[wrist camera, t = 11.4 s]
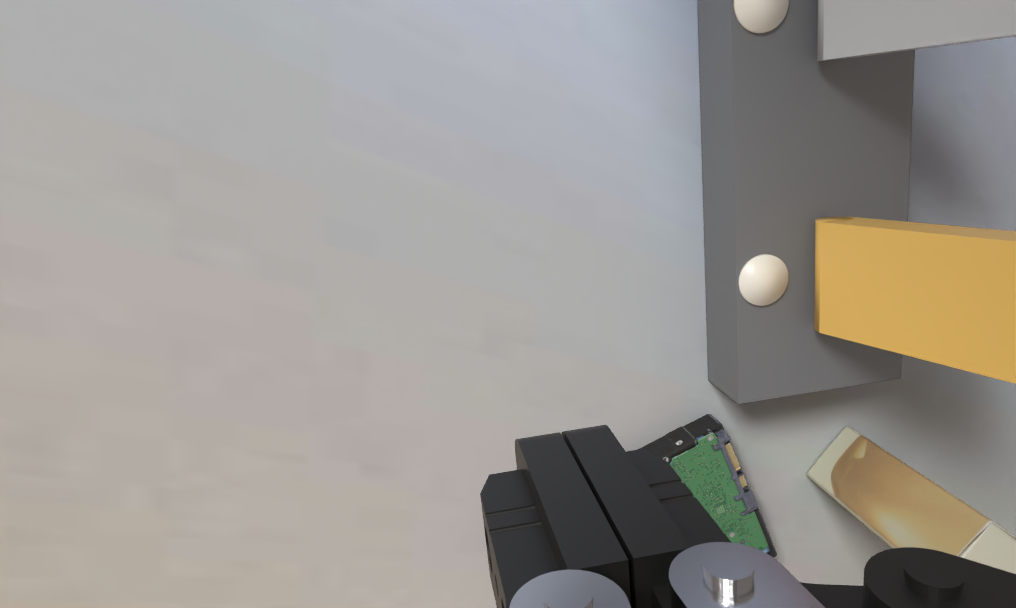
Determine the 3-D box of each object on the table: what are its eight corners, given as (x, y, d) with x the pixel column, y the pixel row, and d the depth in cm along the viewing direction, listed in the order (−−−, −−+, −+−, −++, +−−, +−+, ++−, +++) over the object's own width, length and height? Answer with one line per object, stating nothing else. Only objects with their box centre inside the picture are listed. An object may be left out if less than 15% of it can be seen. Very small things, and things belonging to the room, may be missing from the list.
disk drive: (563, 635, 48) (760, 533, 48) (573, 666, 45) (782, 557, 46) (495, 514, 45) (706, 406, 45) (502, 539, 42) (725, 424, 43)
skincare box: (906, 469, 48) (1072, 578, 37) (865, 519, 49) (1015, 643, 37) (843, 420, 47) (994, 518, 35) (800, 472, 47) (936, 587, 35)
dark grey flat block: (693, -127, 37) (730, -157, 33) (871, -137, 39) (926, -168, 35) (708, 380, 44) (739, 405, 40) (857, 357, 46) (902, 379, 42)
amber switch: (806, 220, 38) (1031, 243, 29) (832, 215, 39) (1059, 235, 30) (805, 329, 40) (1019, 384, 30) (830, 321, 41) (1045, 372, 31)
